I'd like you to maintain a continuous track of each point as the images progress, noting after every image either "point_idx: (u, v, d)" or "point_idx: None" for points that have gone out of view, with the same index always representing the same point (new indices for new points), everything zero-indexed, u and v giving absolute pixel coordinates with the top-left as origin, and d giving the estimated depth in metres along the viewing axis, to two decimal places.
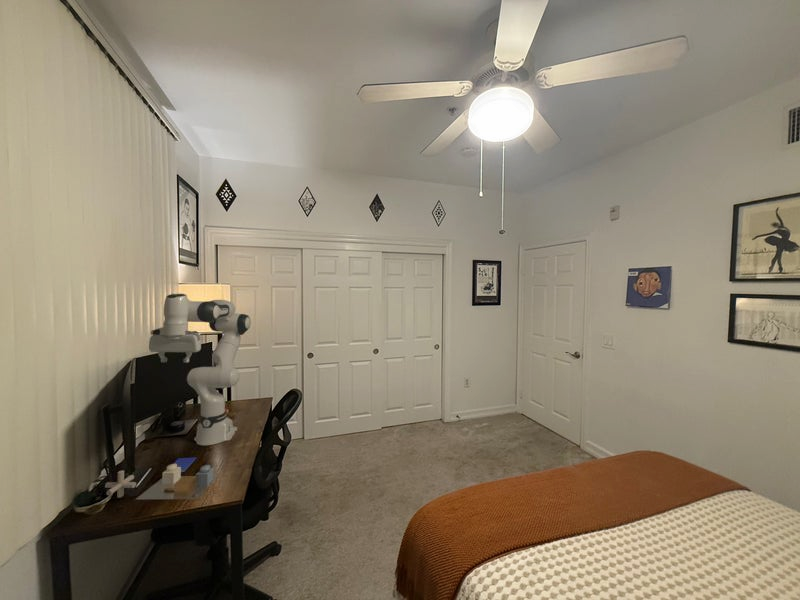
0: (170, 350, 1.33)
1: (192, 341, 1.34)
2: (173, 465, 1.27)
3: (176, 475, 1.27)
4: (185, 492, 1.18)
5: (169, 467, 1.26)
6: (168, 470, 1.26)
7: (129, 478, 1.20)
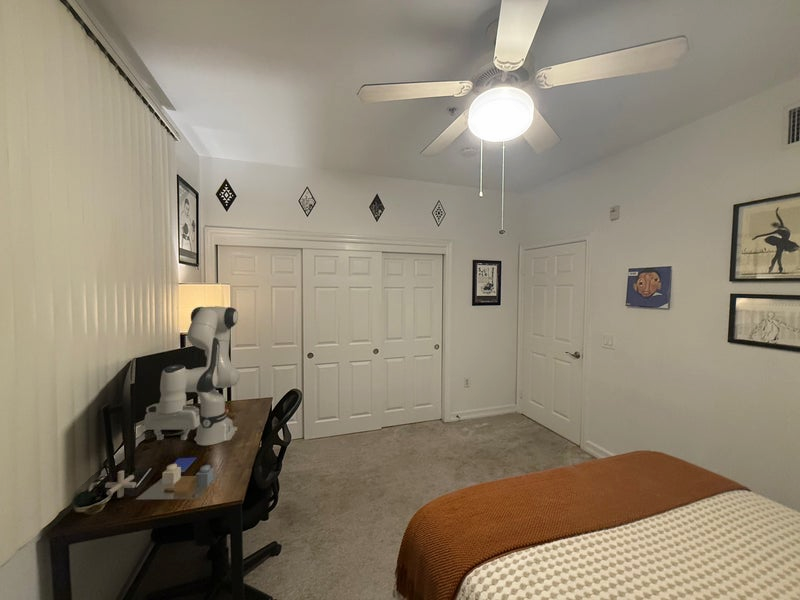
0: (166, 428, 1.25)
1: (190, 418, 1.26)
2: (173, 465, 1.27)
3: (176, 475, 1.27)
4: (185, 492, 1.18)
5: (169, 467, 1.26)
6: (168, 470, 1.26)
7: (129, 478, 1.20)
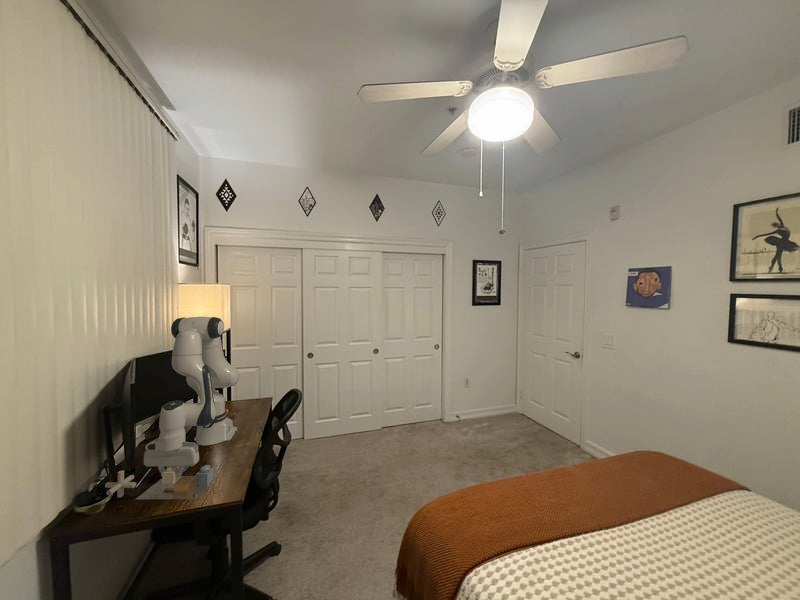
0: (166, 465, 1.25)
1: (189, 455, 1.26)
2: None
3: None
4: (185, 492, 1.18)
5: (169, 467, 1.26)
6: (168, 470, 1.26)
7: (129, 478, 1.20)
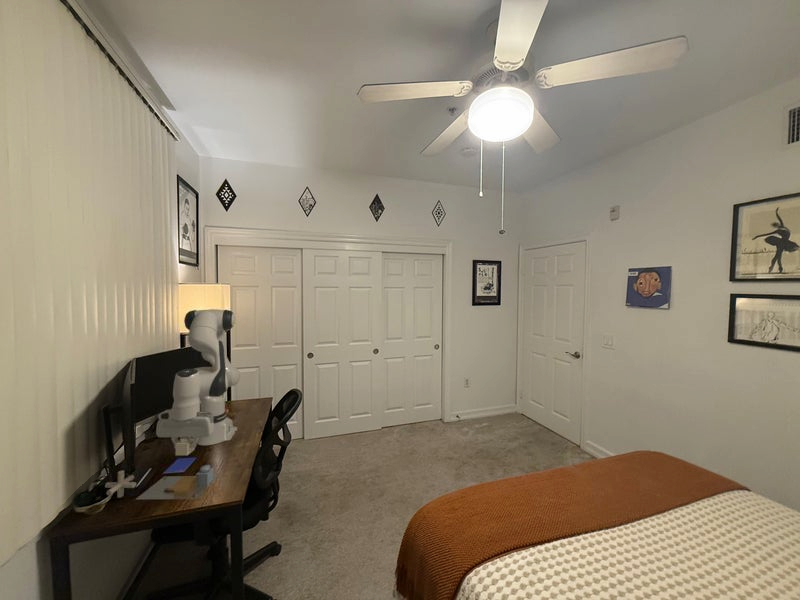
0: (180, 435, 1.19)
1: (204, 425, 1.19)
2: None
3: None
4: (185, 492, 1.18)
5: (183, 438, 1.19)
6: (181, 441, 1.19)
7: (129, 478, 1.20)
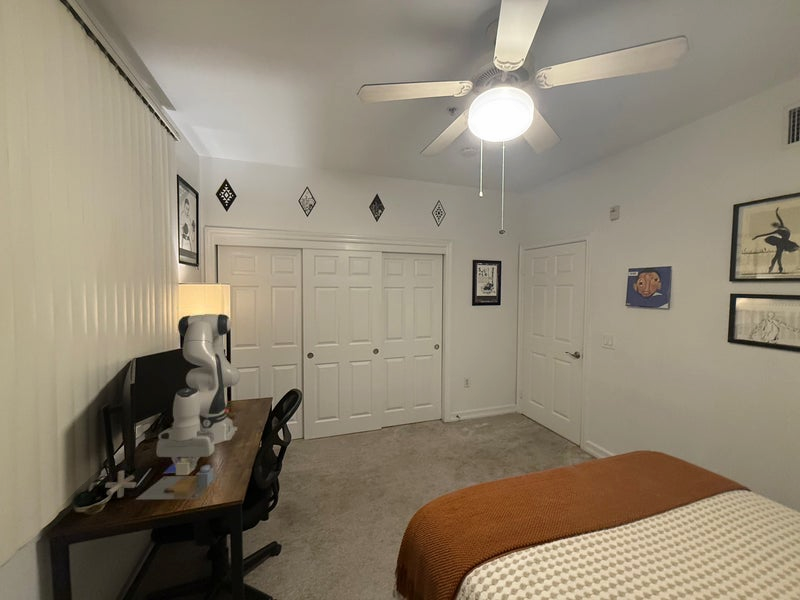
0: (180, 455, 1.19)
1: (204, 445, 1.19)
2: None
3: None
4: (185, 492, 1.18)
5: (183, 458, 1.19)
6: (182, 460, 1.19)
7: (129, 478, 1.20)
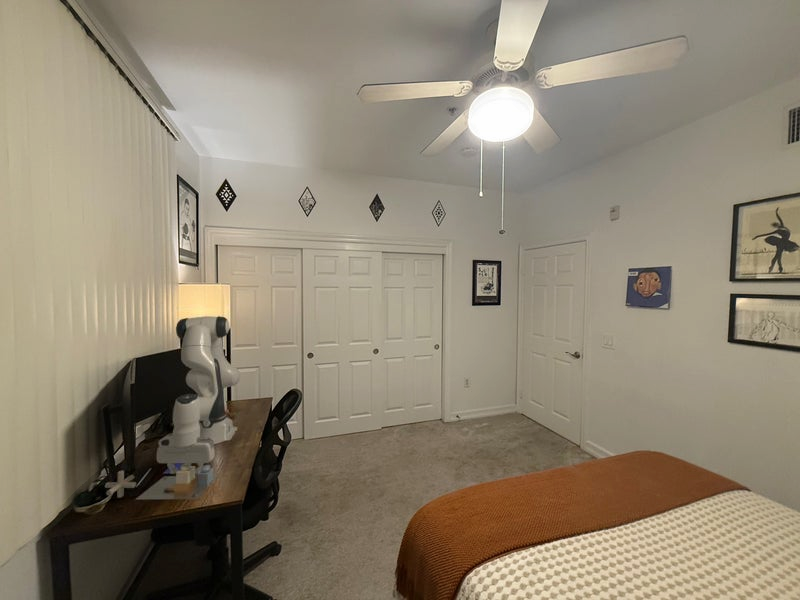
0: (180, 461, 1.19)
1: (204, 451, 1.19)
2: (188, 464, 1.21)
3: (190, 474, 1.20)
4: (185, 492, 1.18)
5: (183, 466, 1.20)
6: (182, 469, 1.19)
7: (129, 478, 1.20)
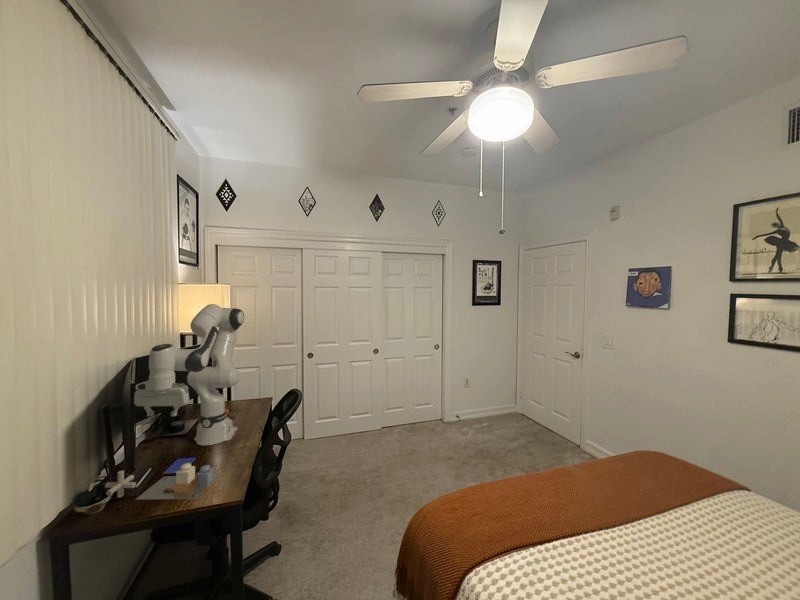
0: (156, 404, 1.29)
1: (179, 395, 1.29)
2: (188, 464, 1.21)
3: (190, 474, 1.20)
4: (185, 492, 1.18)
5: (183, 466, 1.20)
6: (182, 469, 1.19)
7: (129, 478, 1.20)
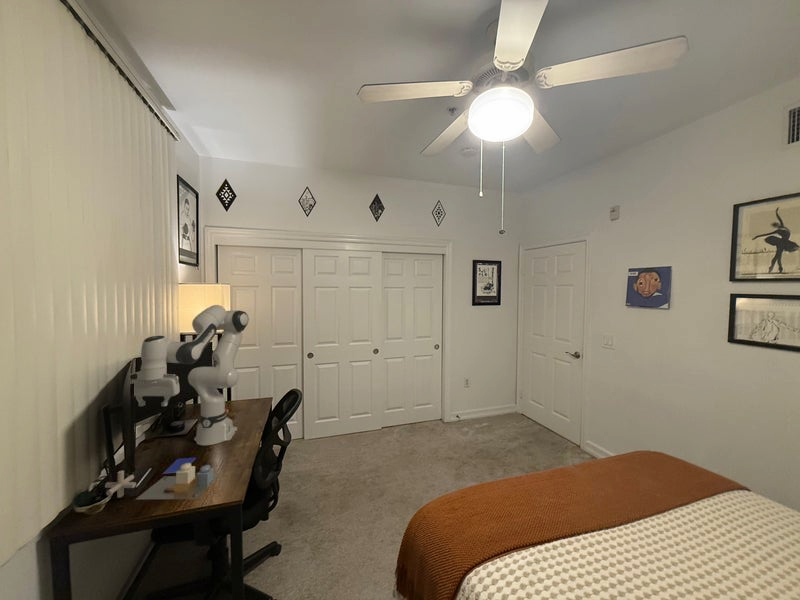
0: (147, 394, 1.32)
1: (170, 385, 1.32)
2: (188, 464, 1.21)
3: (190, 474, 1.20)
4: (185, 492, 1.18)
5: (183, 466, 1.20)
6: (182, 469, 1.19)
7: (129, 478, 1.20)
